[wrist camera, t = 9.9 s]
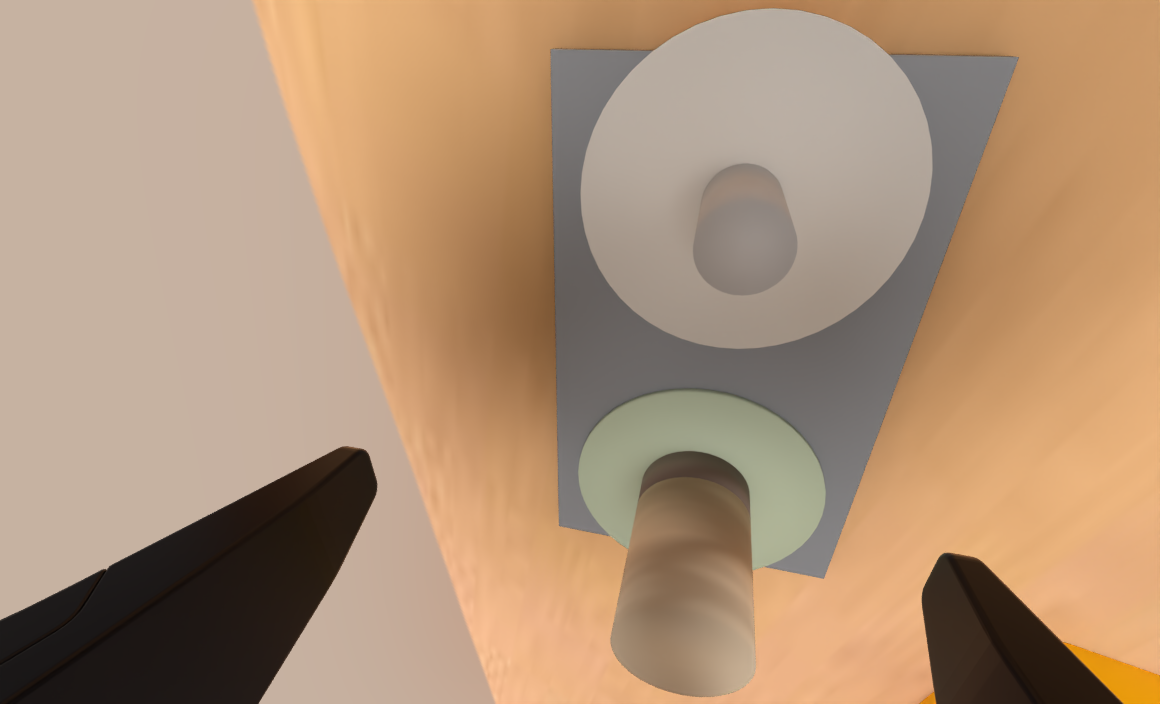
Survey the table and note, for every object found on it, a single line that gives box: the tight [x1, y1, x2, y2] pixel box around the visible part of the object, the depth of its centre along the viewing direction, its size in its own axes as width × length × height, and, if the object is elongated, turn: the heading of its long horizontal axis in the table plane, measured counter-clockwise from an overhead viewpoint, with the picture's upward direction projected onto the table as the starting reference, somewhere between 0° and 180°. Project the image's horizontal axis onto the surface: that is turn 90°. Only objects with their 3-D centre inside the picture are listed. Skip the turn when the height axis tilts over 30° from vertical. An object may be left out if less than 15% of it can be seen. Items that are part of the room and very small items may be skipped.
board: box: [551, 8, 1019, 579], centre depth 18 cm, size 12×22×5 cm, turn 179°
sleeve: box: [611, 451, 756, 697], centre depth 19 cm, size 4×4×7 cm
